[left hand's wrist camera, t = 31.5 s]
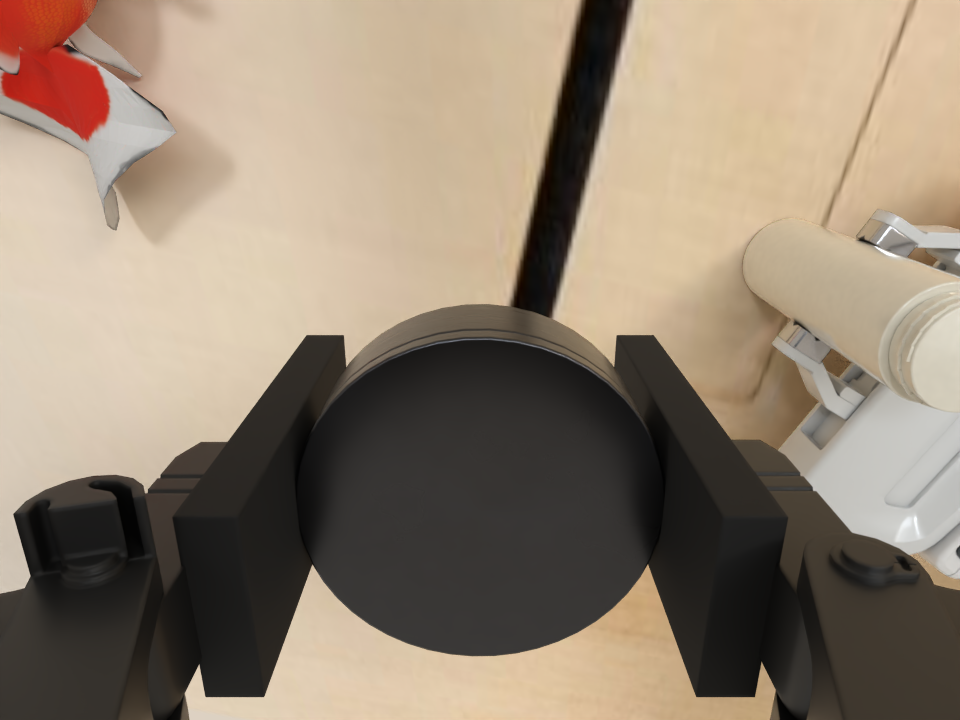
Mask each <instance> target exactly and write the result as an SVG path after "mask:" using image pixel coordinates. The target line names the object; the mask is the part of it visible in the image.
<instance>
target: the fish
mask: <svg viewBox="0 0 960 720" xmlns="http://www.w3.org/2000/svg"><path fill="white" fill-rule="evenodd" d="M96 3H97V0H0V114H3V115H5V116H8V117H10V118H13V119H15V120H18V121H21V122H23V123H26V124H28V125H30V126H32V127H35V128H37V129H39V130H41V131H44V132H46V133H48V134H50V135H53V136H55V137H57V138H59V139H62V140H64V141H65V142H67V143H69V144H70V145H72V146H74V147H75V148H77V149H79V150H81V151H82V152H84V153H85V154H87V155H88V157H89V160H90V163H91V166H92V169H93V172H94V175H95V179H96V183H97V188H98V191H99V195H100V198H101V201H102V205H103V209H104V213H105V217H106V222H107V225H108V226H109V227H110V228H111V229H113V230H117V226H118V222H119V210H118V204H117V198H116V192H115V190H114V189H113V187H112V185H113V184H114V182H115V181H116V180H117V179H118V178H119V177H120V176H121V175H122V174H123V173H124V172H125V171H126V170H127V169H128V168H129V167H130V166H131V165H132V164H133V163H134V162H136V161H138V160H139V159H141V158H142V157H144V156H145V155H147V154H148V153H150V152H152V151H153V150H155V149H156V148H157V147H159V146H160V145H161V144H162V143H164V142H165V141H166V140H167V139H169V138H170V137H171V136H173V135H174V134H175V133H176V131H175V129H174V128H173V126H172V125H171V123H170V122H169V120H168V119H167V117H166V116H165V114H164V113H163V111H162V110H160V109H159V108H157V107H156V106H155V105H153V104H152V103H151V102H149V101H148V100H146V99H145V98H144V97H142V96H141V95H140V94H138V93H137V92H136V91H134V90H133V89H131V88H130V87H129V86H128V85H126V84H125V83H124V82H122V81H121V80H120V79H118V78H117V77H116V76H114V75H113V74H112V73H110V72H109V71H107V70H106V69H104V68H103V67H101V66H100V65H98V64H97V63H95V62H94V61H92V60H91V59H89V58H88V57H86V56H85V55H87V56H89V57H91V58H93V59H96V60H98V61H101V62H104V63H106V64H109V65H112V66H114V67H116V68H119V69H121V70H123V71H126V72H128V73H130V74H132V75H134V76H137V77H141V74H140V73H139V72H138V71H137V70H136V69H135V68H134V67H133V66H132V65H131V64H130V63H129V62H128V61H127V60H126V59H125V58H124V57H123V56H122V55H120V54H119V53H118V52H117V51H116V50H115V49H114V48H112V47H111V46H110V45H109V44H107V43H106V42H105V41H103V40H102V39H101V38H99V37H98V36H97V35H96V34H95V33H93V32H92V31H91V30H90V29H89V28H88V27H87V26H86V24H85V22H86V21H87V19H88V18H89V16H90V15H91V13H92V12H93V10H94V8H95V5H96ZM68 38H69V40H70V42H71V43H72V44H73V46H74V47H75V48H76V49H77V50H79V51H80V52H81V53H80V52H78V51H77V50H75V49H74V48H72V47H71V46H69V45H68V44H67V45H63V43H64V42H65V41H66V40H67V39H68ZM83 54H84V55H83Z"/></svg>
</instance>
